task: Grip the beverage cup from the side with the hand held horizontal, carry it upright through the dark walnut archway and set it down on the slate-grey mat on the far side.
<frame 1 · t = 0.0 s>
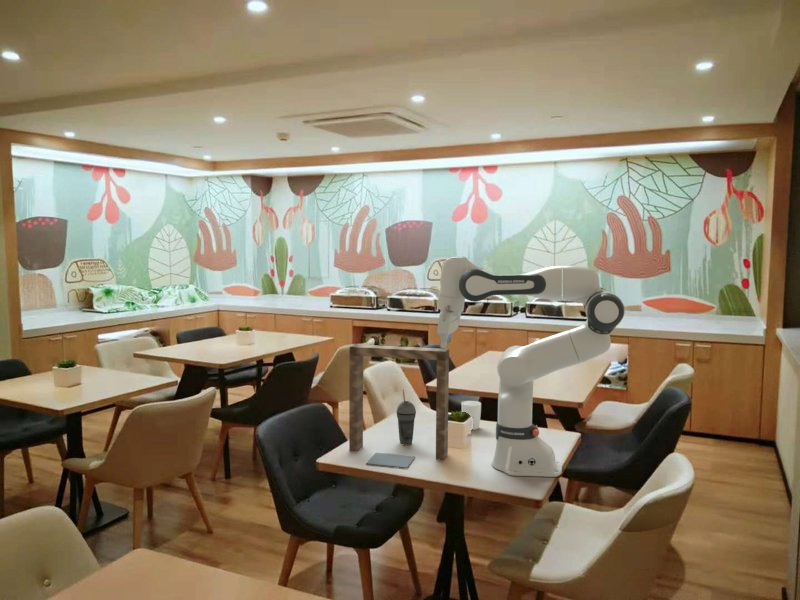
hand: (446, 345, 200), 39 cm above the table, tool pointing down, fingers open, 8 cm apart
slate mat: (391, 461, 201), on the table
walnut archway: (398, 452, 209), on the table
white cup: (470, 428, 241), on the table
beverage cup: (405, 443, 220), on the table
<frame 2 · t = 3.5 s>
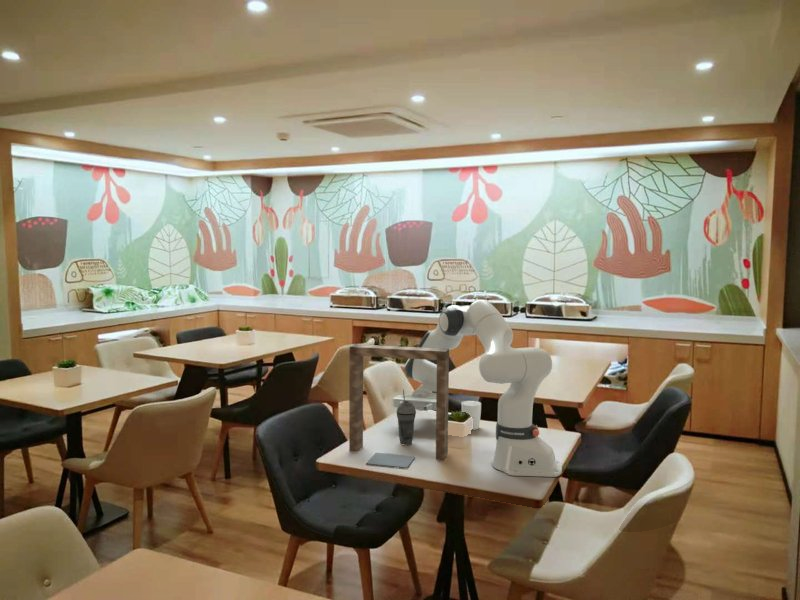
hand: (413, 407, 231), 10 cm above the table, tool horizontal, fingers open, 8 cm apart
nothing on the table moved.
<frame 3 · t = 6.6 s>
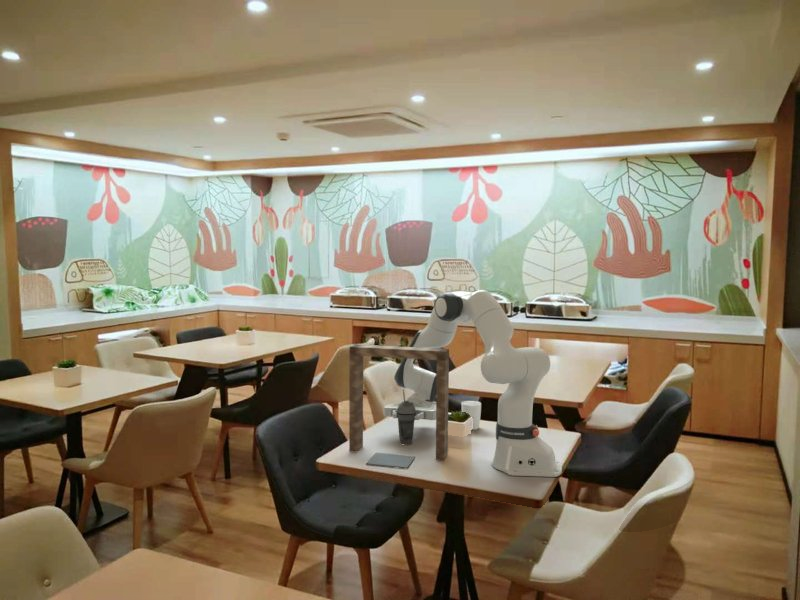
hand: (405, 417, 218), 10 cm above the table, tool horizontal, fingers closed on beverage cup, 7 cm apart
beverage cup: (405, 443, 220), on the table, touching gripper
everything else where it was.
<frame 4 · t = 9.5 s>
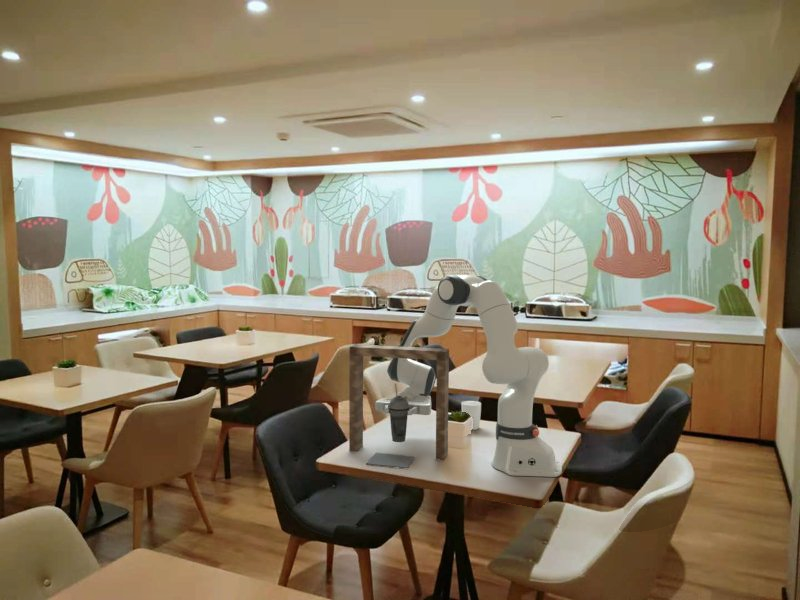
hand: (398, 411, 207), 15 cm above the table, tool horizontal, fingers closed on beverage cup, 7 cm apart
beverage cup: (398, 440, 209), point 4 cm above the table, touching gripper
everything else where it was.
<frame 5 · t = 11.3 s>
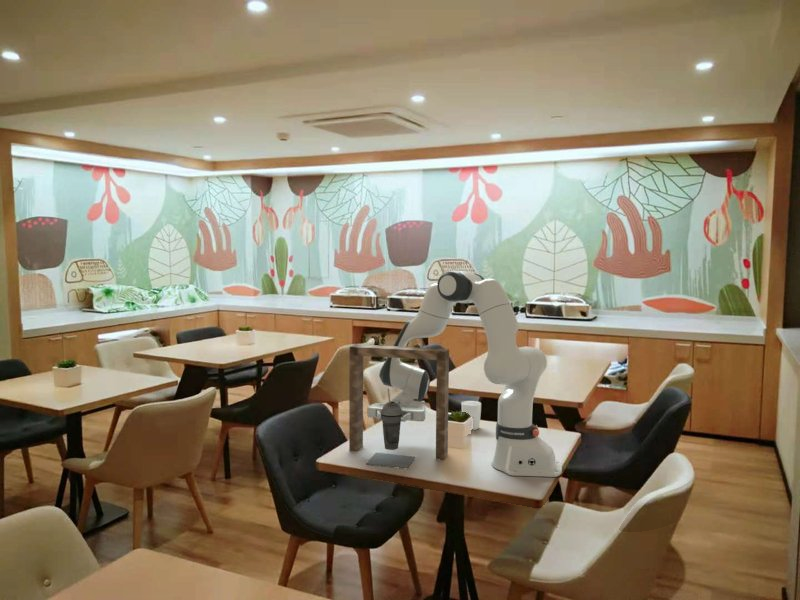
hand: (390, 418, 199), 15 cm above the table, tool horizontal, fingers closed on beverage cup, 7 cm apart
beverage cup: (391, 448, 200), point 4 cm above the table, touching gripper
everything else where it was.
when the fingers open (11 cm above the table, at t = 12.8 s): beverage cup stays where it is, resting on slate mat.
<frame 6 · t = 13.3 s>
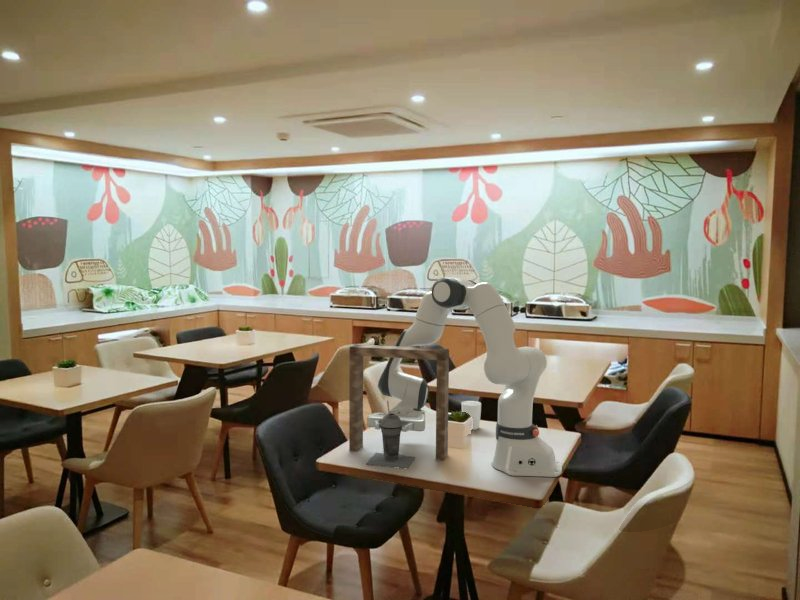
hand: (390, 428, 199), 11 cm above the table, tool horizontal, fingers open, 8 cm apart
beverage cup: (391, 460, 201), resting on slate mat
everything else where it was.
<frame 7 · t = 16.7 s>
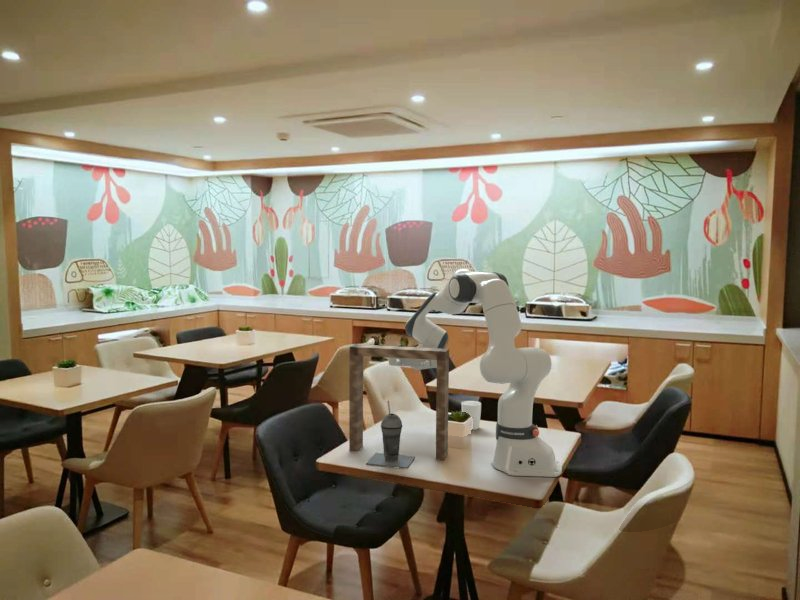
hand: (410, 364, 224), 28 cm above the table, tool horizontal, fingers open, 8 cm apart
nothing on the table moved.
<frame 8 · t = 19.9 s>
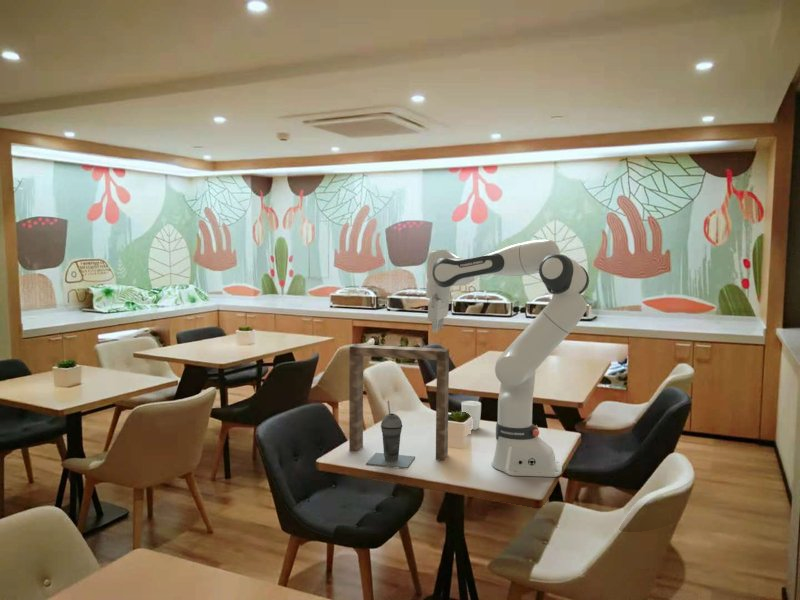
hand: (437, 330, 221), 41 cm above the table, tool pointing down, fingers open, 8 cm apart
nothing on the table moved.
at the end: beverage cup inside the target area (0.6 cm from its centre), resting on slate mat; beverage cup tilted 0°; the gripper is holding nothing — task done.
